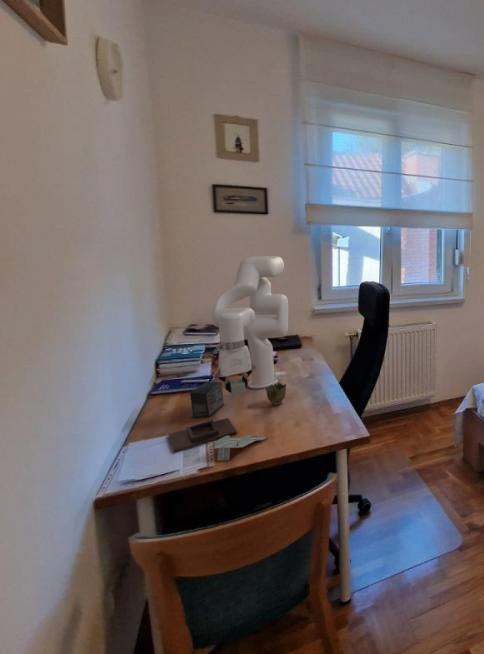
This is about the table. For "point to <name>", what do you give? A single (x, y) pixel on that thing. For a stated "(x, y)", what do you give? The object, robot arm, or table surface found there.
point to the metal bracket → (231, 445)
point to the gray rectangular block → (237, 387)
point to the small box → (206, 399)
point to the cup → (276, 393)
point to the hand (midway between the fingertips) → (237, 388)
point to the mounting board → (201, 434)
